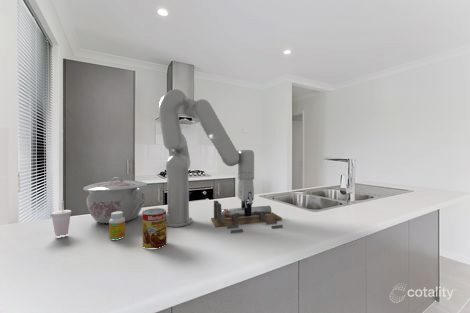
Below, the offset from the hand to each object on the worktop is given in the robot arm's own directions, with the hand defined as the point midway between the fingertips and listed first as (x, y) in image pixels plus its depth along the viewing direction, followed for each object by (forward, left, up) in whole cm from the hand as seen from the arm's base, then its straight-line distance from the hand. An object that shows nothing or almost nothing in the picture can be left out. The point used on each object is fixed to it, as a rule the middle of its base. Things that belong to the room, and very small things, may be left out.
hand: (246, 214), depth 106 cm
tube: (0, 0, -1) cm, 1 cm away
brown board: (0, 0, -3) cm, 3 cm away
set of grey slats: (0, -11, -3) cm, 11 cm away
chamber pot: (-59, +19, -3) cm, 62 cm away
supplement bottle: (-54, -6, -3) cm, 54 cm away
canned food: (-40, -17, -3) cm, 43 cm away
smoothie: (-75, +2, -3) cm, 75 cm away
